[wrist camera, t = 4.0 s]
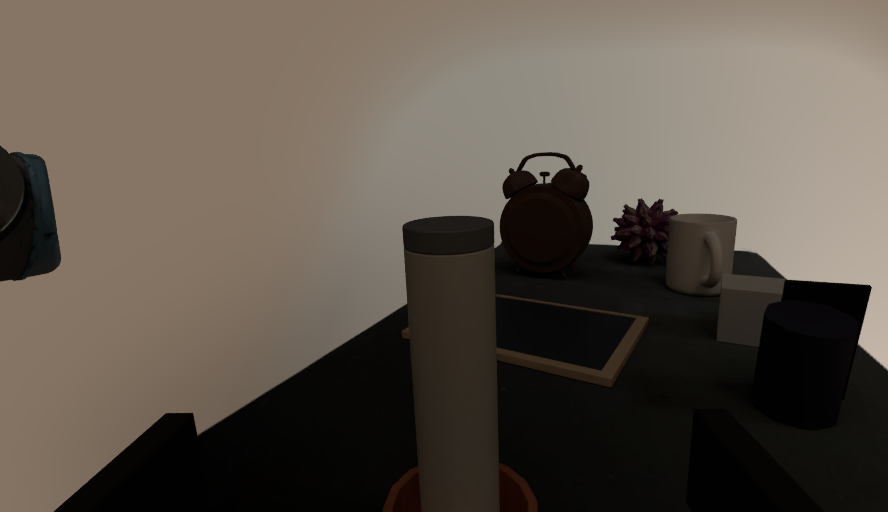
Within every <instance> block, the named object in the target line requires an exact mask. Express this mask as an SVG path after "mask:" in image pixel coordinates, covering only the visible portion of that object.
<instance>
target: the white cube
mask: <svg viewBox="0 0 888 512" xmlns="http://www.w3.org/2000/svg"><path fill="white" fill-rule="evenodd" d="M785 280H786V279H778V278H767V277H755V276H743V275H732V274H722V282H721V292H720V303H719V313H718V324H717V341H721V342H728V343H735V344H741V345H748V346H755V347H759V343H760V337H761V330H762V323H763V317H764V312H765V310H766V308H767V306H768V304H771V303H775V302H780V301H781V299H782V293H783V288H784V282H785Z"/></svg>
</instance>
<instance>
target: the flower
mask: <svg viewBox="0 0 888 512" xmlns="http://www.w3.org/2000/svg"><path fill="white" fill-rule="evenodd" d="M662 203H663V200H661V199H659V200H658V201H657V202H654V204H653V205H652V206H651V207H650V209H649V207H648V206H647V205H646V204H645V202H644V200H642V199H638V206H637V208H636V210H635V209H633V208H631V207H629V206H628V205H625V206H624V208H625V209H624V210H623V212H624V214H623V215H622V218H614V219H613V221H614V222H616V223H617V224H618V225H619V227H615V231H617V232H615V235H614V236H611V239H612V240H619V241H622V242H621V244H620V245H619V246H618V247H617V250H619V252H620V253H622V252H624V251H629V250H630V254H631V260H630V262H633V263H635V262H636V260H637V259H639V258H640V257H642V256H643V254H644V255H645V257H646V258H647V260H648V261H649V264H650V265H653V264H654V261H655V260H656V253H657V254H658V255H660V256H662V257H663V258H664V259H665V260H666V259H667V255H666V254H667V251H668V237H669V222H670V217H671V216H674V215H677V214H678V212H677V211H675V210H674V209H671V210H670V211H664V212H663V205H662Z"/></svg>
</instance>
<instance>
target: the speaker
mask: <svg viewBox="0 0 888 512" xmlns="http://www.w3.org/2000/svg"><path fill="white" fill-rule="evenodd" d="M871 288H872V287H871V286H870V285H859V284H844V283H827V282H813V281H797V280H785V282H784V288H783V293H782V299H781V301H780V302H775V303H771V304H768V306H767V308H766V310H765V312H764V317H763V323H762V330H761V337H760V343H759V350H758V357H757V363H756V370H755V377H754V383H753V390H752V396H751V397H752V399H753V401H754V403H755V405H756V406H758V407H759V408H760V409H761V410H763V411H764V412H765V413H767V414H768V415H769V416H770V417H772V418H773V419H775V420H778V421H781V422H784V423H787V424H790V425H792V426H795V427H798V428H801V429H810V430H818V429H822V428H826V427H830V426H834V425H836V422H837V418H838V414H839V410H840V406H841V401H842V400H844V396H845V392H846V388H847V384H848V380H849V376H850V372H851V368H852V364H853V360H854V356H855V352H856V348H857V344H858V340H859V336H860V332H861V328H862V324H863V320H864V316H865V312H866V308H867V304H868V300H869V296H870V292H871Z"/></svg>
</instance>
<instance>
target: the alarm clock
mask: <svg viewBox="0 0 888 512" xmlns="http://www.w3.org/2000/svg"><path fill="white" fill-rule="evenodd" d="M537 156H556V157H560V158H563V159H565V160H566V162H567V163H568V165H569V166H570V168H565V169H562V170H560V171H559V172H557V173H556V175H555V176H554V177H553V178H552V180H551V183H545V176H549V175H550V173H549V172H540V176H543V184H536V183H537V182H538V181H537V179H536V178H535V177H534V176H533V175H532V174H531V173H530V172H528V171H521V170H522V168H523V167H524V165H525V163H526V162H527V160H528V159H531V158H534V157H537ZM582 167H583V166H582V165H578V166H577V168H575V166H574V164H573V162H572V161H571V159H570V158H569V157H568V156H567V155H564V154H560V153H552V152H548V153H536V154H532V155H529V156H526V157H525V158H523V160H522V161H521V163H520V165H519V167H518V169H517V171H516V172H515V171H514V169H512V168H510V169H509V173H510V175H509V176H508V177H507V178H506V180H505V181H504V183H503V193H504V196H505V198H506V199H509V198H511V199H510V200H509V201H508V202H507V204H506V205H505V207H504V210H503V212H502V215H501V219H500V234H501V239H502V242H503V245H504V247H505V249H506V251H507V252H508V254H509V255H510V256H511V258H512V259H513V260H514V261H516V262H517V263H518V264H519V265H520V266H519V268H518V269H517V272H520V269H521V268H522V267H524V268H525V269H528V270H531V271H535V272H543V273H544V272H553V271H556V270H560V271H561V273H562V274H563V278H566V277H567V275H566V274H565V272H564V267H566V266H568V265H569V266H570V267H571V269H572V270H573V273H574V274H577V270H576V269H575V267H574V264H573V262H574V261H575V260H576V259H577V258H578V257H579V256H580V255H581V254H582V253H583V251H584V250H585V249H586V247H587V246H588V244H589V241H590V239H591V236H592V230H593V220H592V215H591V212H590V209H589V207H588V205H587V203H586V202H585V200H584V198H585V197H586V195H587V193H588V190H589V181H588V179H587V178H586V177H587V176H586V175H585V174H583V173H581V170H582ZM535 184H536V185H535Z"/></svg>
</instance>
